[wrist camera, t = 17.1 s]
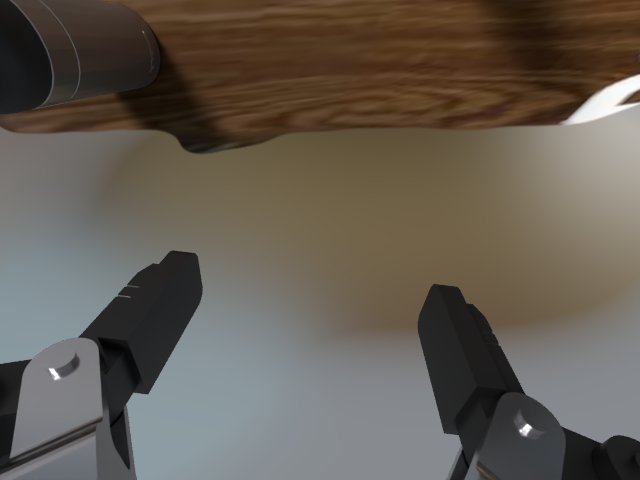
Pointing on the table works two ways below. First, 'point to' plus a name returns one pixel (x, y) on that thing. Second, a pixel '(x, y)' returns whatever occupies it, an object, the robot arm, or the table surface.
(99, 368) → the robot arm
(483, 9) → the table surface
